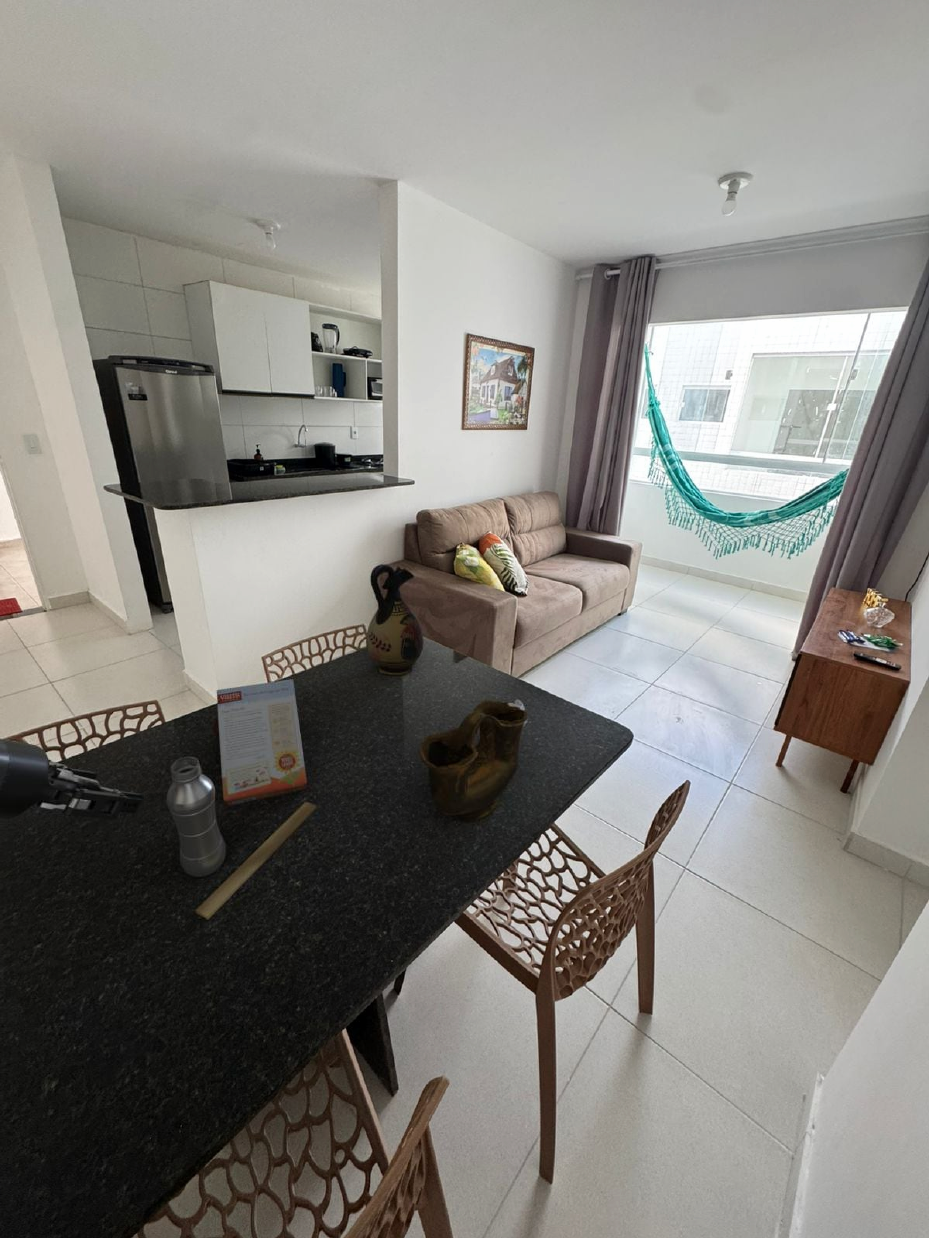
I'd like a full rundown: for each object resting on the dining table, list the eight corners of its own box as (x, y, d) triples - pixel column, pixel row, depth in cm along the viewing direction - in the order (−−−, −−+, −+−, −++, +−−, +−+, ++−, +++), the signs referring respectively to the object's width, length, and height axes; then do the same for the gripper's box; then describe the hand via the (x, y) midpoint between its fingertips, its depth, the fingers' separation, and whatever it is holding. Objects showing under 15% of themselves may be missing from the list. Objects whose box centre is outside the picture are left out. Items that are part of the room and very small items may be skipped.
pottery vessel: (448, 859, 85) (453, 763, 77) (402, 824, 91) (403, 732, 83) (531, 782, 102) (542, 698, 94) (488, 757, 109) (495, 677, 101)
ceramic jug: (402, 649, 152) (402, 552, 140) (433, 670, 141) (437, 567, 129) (351, 665, 142) (346, 561, 130) (380, 689, 131) (379, 579, 119)
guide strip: (195, 913, 74) (195, 910, 73) (306, 803, 94) (305, 801, 94) (208, 919, 73) (207, 917, 73) (316, 808, 93) (316, 805, 93)
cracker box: (306, 790, 98) (294, 688, 106) (307, 783, 93) (293, 677, 101) (226, 807, 93) (220, 698, 101) (222, 801, 88) (215, 687, 96)
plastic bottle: (221, 841, 85) (202, 744, 77) (233, 869, 81) (215, 769, 72) (178, 860, 82) (154, 760, 73) (188, 891, 77) (164, 787, 69)
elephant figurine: (519, 738, 115) (521, 717, 113) (488, 726, 119) (490, 704, 117) (531, 724, 121) (534, 703, 118) (501, 713, 124) (504, 692, 122)
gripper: (41, 759, 48) (170, 780, 63) (-45, 718, 53) (93, 746, 67) (-7, 842, 46) (139, 843, 60) (-93, 790, 51) (60, 803, 65)
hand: (114, 792), depth 64 cm, fingers open, 8 cm apart
